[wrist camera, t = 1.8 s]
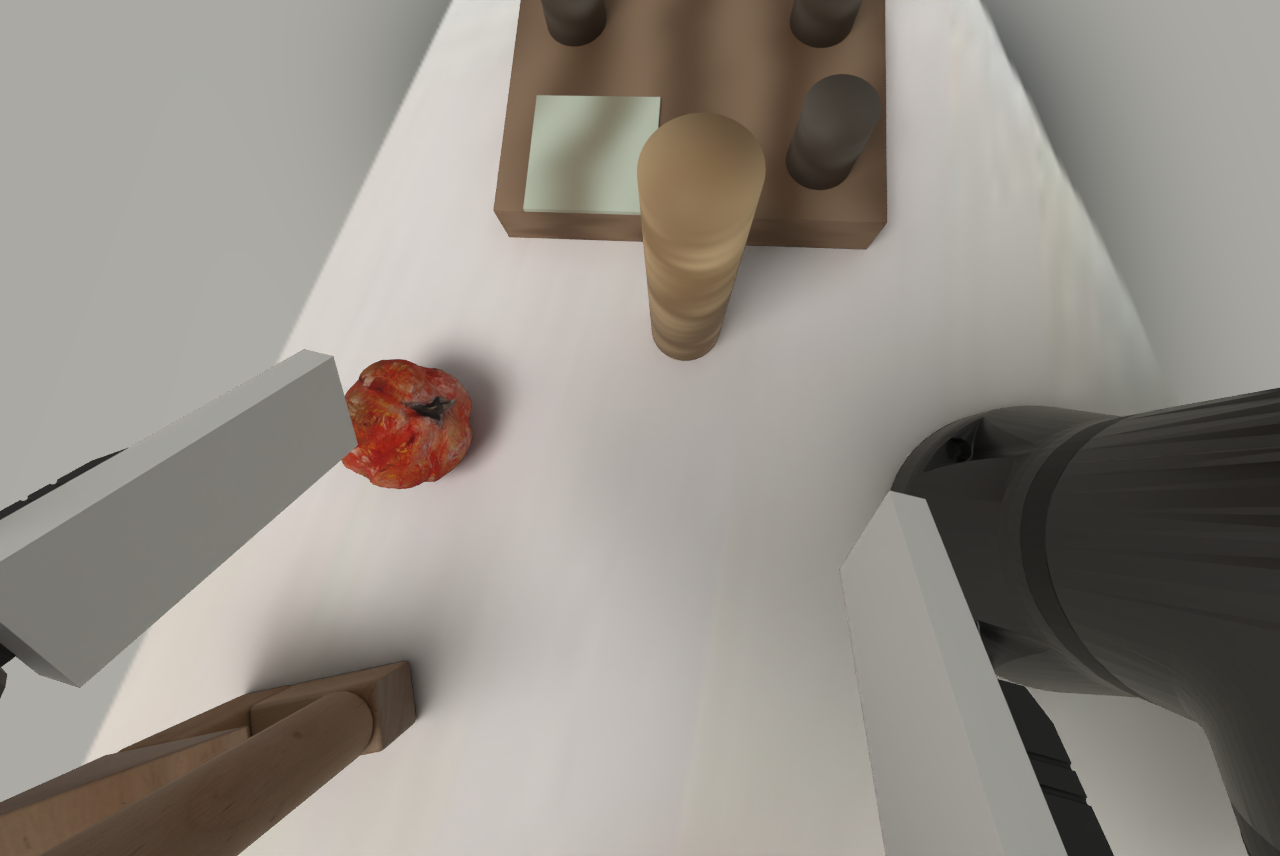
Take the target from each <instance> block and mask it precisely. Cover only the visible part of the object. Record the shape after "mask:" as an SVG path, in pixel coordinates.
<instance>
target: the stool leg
mask: <svg viewBox="0 0 1280 856" xmlns="http://www.w3.org/2000/svg"><path fill="white" fill-rule="evenodd" d="M765 172H766V166H765V158H764V154H763V151H762V149H761V147H760V145H759V143H758V141H757V140H756V138H755V137H754V135H753V134H752V133H751V132H750V131H749V130H748V129H747V128H745V127H744V126H743V125H742V124H740V123H738V122H737V121H735V120H733V119H731V118H729V117H726V116H723V115H719V114H714V113H692V114H687V115H683V116H679V117H677V118H675V119H672V120H670V121H669V122H667V123H665V124H664V125H662V126H661V127H659V128H658V129H657V130H656V131H655V132H654V133H653V134H652V135H651V136H650V137H649V139H648V140H647V141H646V143H645V144H644V146H643V148H642V150H641V153H640V156H639V159H638V164H637V181H638V192H639V202H640V213H641V223H642V233H643V244H644V254H645V264H646V275H647V285H648V295H649V306H650V316H651V327H652V335H653V339H654V341H655V343H656V345H657V347H658V348H659V349H660V350H661V351H662V352H663V353H664V354H666V355H667V356H669V357H671V358H673V359H677V360H682V361H689V360H694V359H697V358H700V357H702V356H704V355H705V354H707V353H708V352H709V351H710V350H711V349H712V348H713V346H714V345H715V343H716V341H717V339H718V336H719V332H720V329H721V325H722V322H723V319H724V315H725V312H726V309H727V305H728V302H729V299H730V295H731V292H732V288H733V285H734V282H735V278H736V275H737V272H738V268H739V265H740V261H741V258H742V255H743V251H744V248H745V245H746V241H747V238H748V234H749V231H750V228H751V224H752V221H753V218H754V214H755V211H756V207H757V204H758V201H759V197H760V194H761V191H762V187H763V184H764V180H765Z"/></svg>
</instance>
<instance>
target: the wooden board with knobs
mask: <svg viewBox="0 0 1280 856" xmlns="http://www.w3.org/2000/svg"><path fill="white" fill-rule="evenodd" d="M692 113H714V114H719V115H723V116H726V117H729V118H731V119H733V120H735V121H737V122H738V123H740V124H742V125H743V126H744V127H745V128H747V129H748V130H749V131H750V132H751V133H752V134H753V135H754V137H755V138H756V140H757V141H758V143H759V145H760V147H761V149H762V151H763V154H764V158H765V166H766V172H765V180H764V184H763V187H762V191H761V194H760V197H759V201H758V204H757V207H756V211H755V214H754V218H753V221H752V224H751V228H750V231H749V234H748V238H747V241H746V245H757V246H786V247H815V248H844V249H867V248H868V246H869V245H870V244H871V242H872V241H873V240H874V239H875V237H876V236H877V235H878V233H879V232H880V231H881V230H882V228H883V227H884V226H885V224H886V223H887V176H886V62H885V0H521V3H520V11H519V18H518V26H517V34H516V41H515V49H514V57H513V65H512V72H511V80H510V88H509V95H508V103H507V111H506V118H505V126H504V134H503V142H502V149H501V157H500V165H499V172H498V180H497V188H496V195H495V203H494V212H495V214H496V216H497V217H498V219H499V221H500V222H501V224H502V226H503V227H504V229H505V231H506V232H507V234H508V236H509V237H525V238H554V239H583V240H612V241H641V242H643V233H642V223H641V213H640V202H639V192H638V181H637V164H638V159H639V156H640V153H641V150H642V148H643V146H644V144H645V143H646V141H647V140H648V139H649V137H650V136H651V135H652V134H653V133H654V132H655V131H656V130H657V129H658V128H659V127H661V126H662V125H664V124H665V123H667V122H669V121H670V120H672V119H675V118H677V117H679V116H683V115H687V114H692Z"/></svg>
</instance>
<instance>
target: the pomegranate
mask: <svg viewBox="0 0 1280 856" xmlns="http://www.w3.org/2000/svg"><path fill="white" fill-rule="evenodd" d="M345 400H346V404H347V407H348V411H349V414H350V418H351V422H352V425H353V429H354V432H355V436H356V439H357V443H358V445H357V446H356V447H355V448H354V449H353V450H352V451H351V452H349V453H348V454H347V455H346V456H345V457H344V458H343V459H341V460H342V462H343V464H344V465H345V467H346V468H348V469H351V470H353V471H354V472H355V473H358V474H360V475H363V476H364V477H367V478H368V479H369V480H370V482H371V483H372V484H373V485H377V486H380V487H386V488H395V489H406V488H412V487H414V486H416V485H419V484H421V483H423V482H431V481H433V482H435V481H437V480H438V479H440V478H441V477H443V476H444V475H446V474H447V473H449V472H450V471H452V470H453V469H454V468H455V467H456V466H457V464H458V463H459V462H460V461H461V460H462V458H463V457H464V455H465V454H466V452H467V451H468V448H469V446H470V443H471V440H472V431H471V428H470V425H469V417H470V412H471V400H470V397H469V395H468V393H467V390H466V389H465V388H464V386H463V385H462V384H461V383H460V382H459V381H458V380H457V379H455V377H453V376H451V375H449V374H447V373H445V372H443V371H442V370H439V369H436V368H431V369H430V368H426V367H422V366H418V365H416V364H414V363H412V362H409V361H407V360H401V359H394V360H380V361H378V362H376V363H373V364H371V365H370V366H369V367H367V368H366V369H364V370H363V372H362V373H361V374H360V377H359V380H358V381H357V382H356V383H355V384H354V385H353V386H352V387H351V388H350V389H349V390H348V392H347V393H346V395H345Z"/></svg>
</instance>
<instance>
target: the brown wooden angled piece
mask: <svg viewBox="0 0 1280 856" xmlns="http://www.w3.org/2000/svg"><path fill="white" fill-rule="evenodd" d="M415 720H416V713H415V705H414V697H413V689H412V680H411V672H410V665H409V663H408V662H405V661H403V662H398V663H393V664H388V665H384V666H379V667H374V668H369V669H365V670H360V671H355V672H350V673H346V674H341V675H336V676H331V677H327V678H322V679H317V680H312V681H308V682H303V683H298V684H296V685H294V686H284V687H279V688H274V689H269V690H265V691H260V692H255V693H250V694H246V695H242V696H240V697H237V698H235V699H233V700H231V701H229V702H226V703H224V704H222V705H220V706H217V707H215V708H213V709H211V710H208V711H206V712H204V713H202V714H200V715H197V716H195V717H193V718H191V719H188V720H186V721H184V722H182V723H180V724H177V725H175V726H173V727H171V728H168V729H166V730H164V731H162V732H159V733H157V734H155V735H153V736H151V737H148V738H146V739H144V740H142V741H139V742H137V743H135V744H133V745H131V746H128V747H126V748H124V749H122V750H120V751H119V752H117V753H114V754H110V755H105V756H103V757H101V758H99V759H96V760H94V761H92V762H90V763H87V764H85V765H83V766H81V767H79V768H76V769H74V770H72V771H70V772H68V773H65V774H63V775H61V776H59V777H56V778H54V779H52V780H49V781H47V782H45V783H43V784H41V785H38V786H36V787H34V788H32V789H29V790H27V791H25V792H23V793H21V794H18V795H16V796H14V797H11V798H9V799H7V800H5V801H3V802H0V856H237V855H239V854H240V853H241V852H242V851H243V850H245V849H246V848H247V847H248V846H250V845H251V844H252V843H253V842H254V841H256V840H257V839H258V838H259V837H261V836H262V835H263V834H264V833H266V832H267V831H268V830H269V829H270V828H272V827H273V826H274V825H275V824H277V823H278V822H279V821H280V820H281V819H283V818H284V817H285V816H286V815H288V814H289V813H290V812H291V811H292V810H294V809H295V808H296V807H297V806H299V805H300V804H301V803H302V802H304V801H305V800H306V799H307V798H308V797H310V796H311V795H312V794H313V793H315V792H316V791H317V790H318V789H319V788H321V787H322V786H323V785H324V784H326V783H327V782H328V781H329V780H331V779H332V778H333V777H334V776H335V775H337V774H338V773H339V772H340V771H342V770H343V769H344V768H345V767H346V766H348V765H349V764H350V763H351V762H353V761H354V760H355V759H356V758H357V757H359V756H360V755H365V754H369V753H374V752H379V751H382V750H383V749H385V748H386V747H387V746H388V745H389V744H391V743H392V742H393V741H394V740H395V739H396V738H397V737H399V736H400V735H401V734H402V733H403V732H404V731H406V730H407V729H408V728H409V727H410V726H411V725H413V724H414V723H415Z"/></svg>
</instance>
